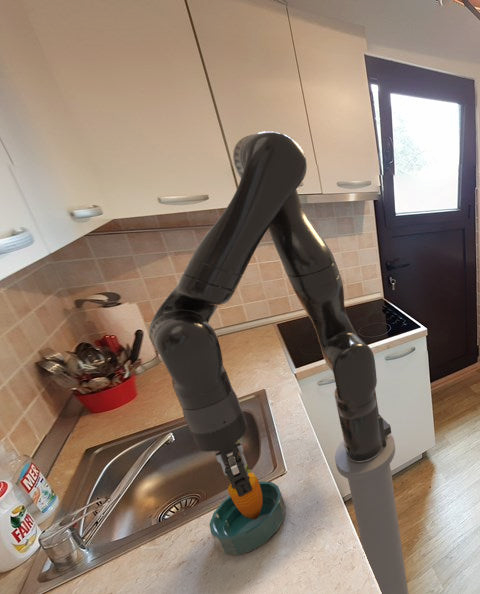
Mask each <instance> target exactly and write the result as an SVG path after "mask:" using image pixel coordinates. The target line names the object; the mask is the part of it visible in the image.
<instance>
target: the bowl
mask: <svg viewBox="0 0 480 594" xmlns="http://www.w3.org/2000/svg"><path fill="white" fill-rule="evenodd" d="M259 484H260V487H261V491H262V502H263V504H262V509H261V512H260V515H259V517H258V518H257V519H254V520H253V519H249V518H247V517H245V516H244V515H243V514H242V513H241V512H240V511H239V510H238V508H237V507H236V505H235V504H234V502H233V500H232V499H231V497H230V495H229V496H228V497H226V498H225V499H224V500H223V501H222V502H220V504H219V505H218V506H217V508H216V509H215V511H214V512H213V514H212V516H211V519H210V522H209V530H210V533H211V536H212V539H213V540H214V543H215V545H216V547H217V548H218V550H219V551H220V552H221V553H223V554H224V555H226V556H240V555H243V554H246V553H248V552H251V551H254V550H256V549H258V548H259V547H260V546H262V545H263V544H264V543H266V542H267V541H269V540H270V539H271V537H272V536H273V535H275V533H277V531H278V530H279V528H280V527H281V525H282V523H283V521H284V520H285V517H286V512H287V511H286V510H287V507H286V504H285V501H284V497H283V495H282V491H281V489H280V487H279V485H278V484H276V483H274V482H272V481H259Z"/></svg>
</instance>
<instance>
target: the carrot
mask: <svg viewBox="0 0 480 594" xmlns="http://www.w3.org/2000/svg"><path fill="white" fill-rule="evenodd" d="M245 469H246V472H247V473H248V474H249V475H248V476H249V478H250V479H249V481H250V484H251V487H252V491H251V492H249V493H247V494H245V495H244V496H242V497H239V496H238V493H237V491H236V489H233V488H232V486H231V483H230V484H229V486H228V487H227V493H228V495H229V496H230V497H231V499H232V500H233V502H234V504H235V505H236V507H237V508H238V510H239V511H240V512H241V513H242V514H243V515H244V516H245V517H247V518H249V519H253V520H254V519H257V518H258V517H259V515H260V512H261V509H262V504H263V502H262V491H261V487H260V484H259V482H260V481H259V478H258V477H257V475H255V473H254V472H251V469H248V464H247V465H246V467H245ZM222 472H223V474H224V471H222Z"/></svg>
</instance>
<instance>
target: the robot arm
mask: <svg viewBox="0 0 480 594" xmlns="http://www.w3.org/2000/svg"><path fill="white" fill-rule="evenodd" d="M232 160H233V165H234V168H235V171H236V173H237V174H238V176H239V178H240V180H239V183H238V186H237V188H236V190H235V193H234V195H233V197H232V198H231V200H230V202H229V203H228V205H227V207H226V208H225V210H224V211H223V213H222V214H221V215H220V217H219V218H218V219H217V221H216V222H215V223H214V224H213V225H212V226H211V228H210V229H209V230H208V231H207V232H206V234H205V235H204V236H203V238H202V239H201V241H200V242H199V243H198V245H197V247H196V248H195V250H194V252H193V253H192V256H191V258H189V259H190V260H189V261H188V263H187V265H186V267H185V269H184V271H183V273H182V275H181V277H180V279H179V282H178V284H177V285H176V286H175V288H174V289H173V290H172V291H171V292H170V294H168V296H167V297H166V299H164V301H163V303H162V304H161V305H160V306H159V308H158V309H157V311H156V312H155V314H154V316H153V318H152V320H151V322H150V325H149V327H148V338H149V340H150V342H151V344H153V347H154V348H155V349H156V351H157V353H158V354H159V357H160V359H161V360H162V362H163V363H164V366H165V368H166V369H167V371H168V373H169V376H170V377H171V384H172V388H173V391H174V393H175V396H176V398H177V400H178V402H179V405H180V407H181V410H182V415H183V418H184V421H185V423H186V425H187V427H188V429H189V432H190V434H191V436H192V439H193V441H194V442H195V445H196V447H197V448H198V450H200V451H202V452H207V453H210V452H214V456H215V458H216V461H217V463H219V464H220V466H221V468H222V472H224V473H223V474H224V476H227V478H228V480H229V482H230V484H231V486H232V488H233V489H236V491H237V493H238V496H239V497H242V496H244V495H245V494H247V493H249V492H251V491H252V487H251V484H250V481H249V479H250V478H249V476H248V475H249V474H248V473H247V472H246V471H247V470H246V469H245V467H246V465H248V464H247V463H248V462H247V460H246V456H245V454H244V447H243V444H242V442H241V439H242V438H243V437H244V435H245V434H246V432H247V431H248V422H247V420H246V417H245V414H244V411H243V409H242V406H241V403H240V400H239V398H238V395H237V394H236V392H235V390H234V388H233V386H232V384H231V381H230V378H229V375H228V372H227V371H226V368H225V366H224V361H223V353H222V349H221V344H220V342H219V338H218V335H217V333H216V331H215V329H214V328H213V326H212V325H210V323H209V322H210V321H211V319H212V316H213V315H214V314H215V312H216V310H217V309H218V308H219V306H223V305H225V304H227V303H228V302H229V301H230V300H231V299H232V297H233V296H234V294H235V292H236V290H237V288H238V286H239V284H240V282H241V280H242V278H243V276H244V274H245V272H246V270H247V267H248V265H249V263H250V262H251V259H252V257H253V256H254V254H255V252H256V250H257V248H258V246H259V244H260V243H261V241H262V240H263V238H264V236H265V234H266V233H267V231H268V233H269V235H270V237H271V240H272V243H273V245H274V247H275V250H276V252H277V255H278V256H279V257H278V258H279V259H280V262H281V264H282V266H283V270H284V271H285V274H286V276H287V278H288V280H289V282H290V285H291V287H292V289H293V291H294V293H295V295H296V297H297V299H298V301H299V303H300V304H301V306H302V309H303V310H304V311H305V313H306V314H307V316H308V318H309V319H310V321H311V323H312V325H313V327H314V329H315V333H316V335H317V338H318V342H319V345H320V350H321V352H322V357H323V359H324V362H325V363H326V364H327V367H328V368H329V369H330V370H331V372H332V374H333V378H334V383H335V390H334V401H335V404H336V410H337V414H338V419H339V424H340V428H341V433H342V438H343V440H344V443H345V445H344V447H345V449H346V455H347V458H348V459H349V460H350V461H351V462H353V463H366V462H369V461H371V460H373V459H375V458H376V457H377V456H378V455H379V454H380V453H381V452H382V450H383V448H384V447H386V438H385V436H387V435H389V434H390V433H391V434H392V427H391V424H390V423H388V422H387V421H386V420H385V419H384V418H383V416H381V414H380V412H379V406H378V400H377V392H376V388H377V384H378V382H377V381H378V379H377V378H378V377H377V367H376V360H375V356H374V352H373V350H372V348H371V347H370V346H369V345H368V344H367V343H366V342H365V341H364V340H363V339H362V338H361V337H360V336H359V335H358V334H357V332H356V329H354V327H353V324H352V323H351V321H350V319H349V318H350V317H348V314H347V311H346V306H345V292H344V291H345V290H344V284H343V279H342V276H341V273H340V270H339V268H338V265H337V262H336V259H335V257H334V255H333V252H332V251H331V249H330V247H329V246H328V244H327V243H326V241H325V239H324V238H323V236H322V235H321V234H320V232H319V231H318V229H317V228H316V226H315V225H314V224H313V222H312V221H311V219H310V218H309V216H308V215H307V213H306V211H305V209H304V207H303V204H302V202H301V198H300V196H299V193H298V190H297V189H298V187H299V186H300V185H301V183H302V182H303V181H304V179H305V178H306V175H307V169H308V166H307V165H308V163H307V158H306V155H305V152H304V151H303V149H302V147H301V146H300V145H299V144H298V143H297V142H296V141H295V140H294V139H293V138H292V137H289V136H288V135H286V134H284V133H280V132H275V131H262V132H258V133H254V134H249V135H246V136H244V137H242V138H241V139H239V140H238V141H237V143H236V144H235V145H234V148H233V153H232ZM344 443H343V444H344Z"/></svg>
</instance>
